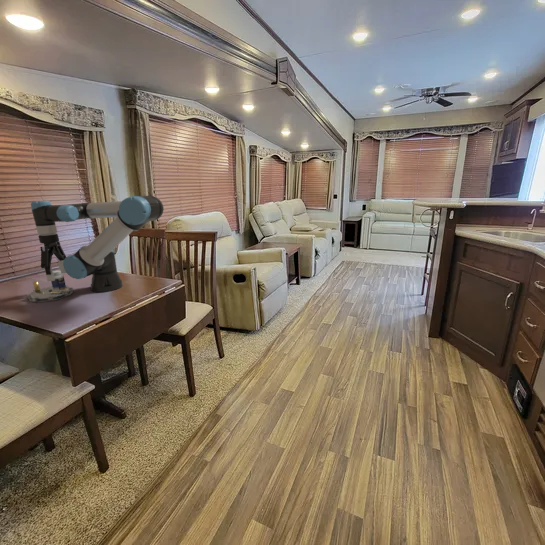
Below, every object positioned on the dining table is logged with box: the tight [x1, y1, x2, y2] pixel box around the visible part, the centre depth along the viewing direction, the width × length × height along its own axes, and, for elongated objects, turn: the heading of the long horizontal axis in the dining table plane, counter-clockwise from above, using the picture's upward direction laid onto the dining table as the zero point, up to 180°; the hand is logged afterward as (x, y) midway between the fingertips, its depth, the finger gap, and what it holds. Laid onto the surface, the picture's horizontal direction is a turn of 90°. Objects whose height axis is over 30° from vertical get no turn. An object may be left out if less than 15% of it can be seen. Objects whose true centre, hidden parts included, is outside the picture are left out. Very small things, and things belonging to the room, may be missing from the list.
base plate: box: [28, 290, 74, 303], centre depth 147 cm, size 18×18×1 cm
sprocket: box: [26, 280, 74, 301], centre depth 146 cm, size 18×18×7 cm
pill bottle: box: [50, 269, 67, 291], centre depth 146 cm, size 5×5×10 cm
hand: (57, 276), depth 145 cm, fingers open, 13 cm apart
